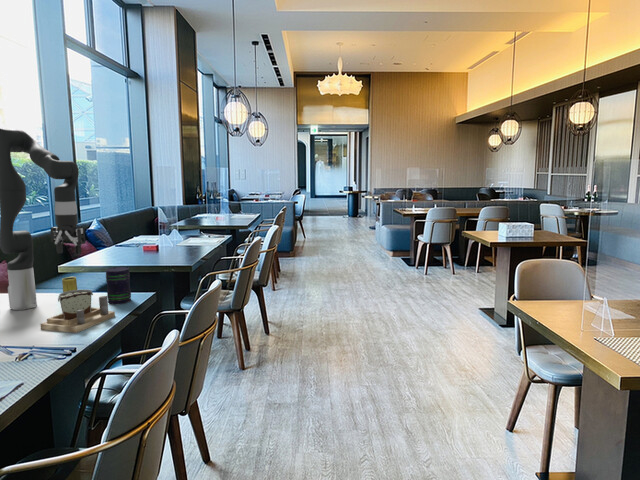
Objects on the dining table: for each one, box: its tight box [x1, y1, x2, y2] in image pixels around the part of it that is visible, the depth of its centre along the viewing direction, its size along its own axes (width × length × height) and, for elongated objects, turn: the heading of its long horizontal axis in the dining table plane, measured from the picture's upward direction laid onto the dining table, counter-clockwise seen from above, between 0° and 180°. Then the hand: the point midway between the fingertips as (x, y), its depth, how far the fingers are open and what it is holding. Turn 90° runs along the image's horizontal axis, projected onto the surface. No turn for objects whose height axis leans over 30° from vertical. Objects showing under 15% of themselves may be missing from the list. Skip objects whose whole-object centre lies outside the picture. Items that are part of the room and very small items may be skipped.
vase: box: [61, 276, 78, 293], centre depth 188 cm, size 6×6×14 cm
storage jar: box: [105, 266, 132, 305], centre depth 203 cm, size 10×10×15 cm
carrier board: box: [39, 295, 116, 334], centre depth 174 cm, size 16×20×9 cm
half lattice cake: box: [57, 289, 94, 320], centre depth 174 cm, size 12×6×10 cm, turn 138°
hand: (69, 254), depth 177 cm, fingers open, 8 cm apart
